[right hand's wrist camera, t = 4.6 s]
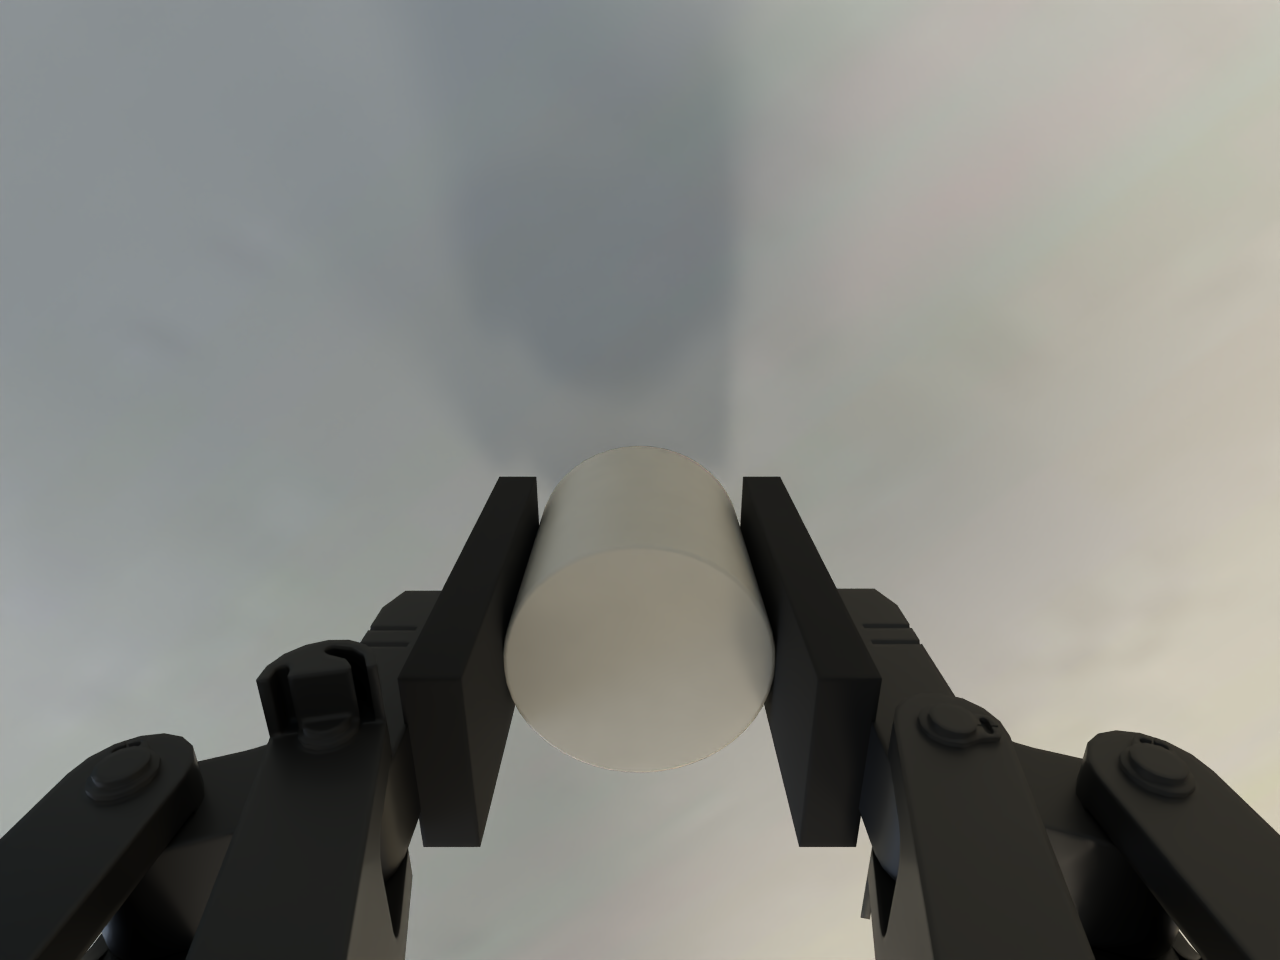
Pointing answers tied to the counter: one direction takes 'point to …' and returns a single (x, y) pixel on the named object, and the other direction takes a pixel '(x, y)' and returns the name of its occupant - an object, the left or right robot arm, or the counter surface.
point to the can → (639, 617)
